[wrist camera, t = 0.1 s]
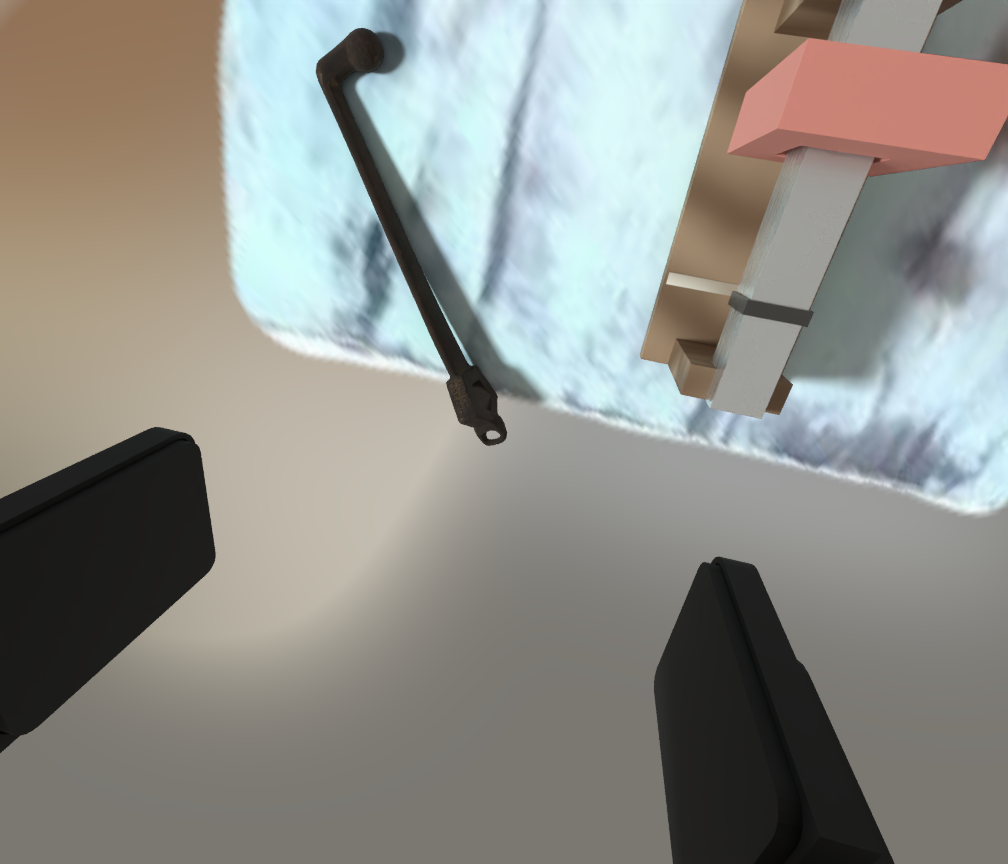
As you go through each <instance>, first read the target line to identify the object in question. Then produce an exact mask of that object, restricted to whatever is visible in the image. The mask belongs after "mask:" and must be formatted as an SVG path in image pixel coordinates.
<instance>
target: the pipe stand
mask: <svg viewBox="0 0 1008 864" xmlns="http://www.w3.org/2000/svg"><path fill="white" fill-rule="evenodd" d="M841 1H842V0H743V2H742V6H741V9H740V13H739V16H738V20H737V23H736V27H735V30H734V33H733V37H732V40H731V44H730V47H729V51H728V54H727V57H726V61H725V64H724V68H723V71H722V75H721V78H720V82H719V85H718V88H717V92H716V95H715V99H714V102H713V106H712V109H711V112H710V116H709V119H708V123H707V126H706V130H705V133H704V136H703V140H702V143H701V147H700V150H699V154H698V157H697V161H696V164H695V167H694V171H693V174H692V178H691V181H690V185H689V188H688V191H687V195H686V198H685V202H684V205H683V209H682V212H681V215H680V219H679V222H678V226H677V229H676V233H675V236H674V240H673V243H672V246H671V250H670V253H669V257H668V260H667V264H666V267H665V270H664V274H663V277H662V281H661V284H660V288H659V291H658V295H657V298H656V301H655V305H654V308H653V312H652V315H651V319H650V322H649V325H648V329H647V332H646V336H645V339H644V343H643V346H642V349H641V353H640V357H641V359H644V360H649V361H654V362H659V363H664V364H668V366H669V369H670V371H671V373H672V375H673V378H674V380H675V382H676V384H677V387H678V389H679V391H680V393H681V394H682V395H686V396H691V397H696V398H701V399H705V398H706V396H707V393H708V390H709V388H710V385H711V382H712V379H713V377H714V374H715V371H716V368H715V367H714V365H713V364H712V363H711V362H712V359H713V356H714V353H715V351H716V348H717V345H718V342H719V339H720V337H721V334H722V331H723V328H724V326H725V323H726V320H727V317H728V315H729V312H730V309H731V306H730V305H728V302H729V299H730V296H731V293H732V291H736V292H737V290H738V287H739V284H740V281H741V278H742V276H743V273H744V270H745V267H746V265H747V262H748V259H749V256H750V254H751V251H752V248H753V245H754V242H755V240H756V237H757V234H758V231H759V229H760V226H761V223H762V220H763V218H764V215H765V212H766V209H767V206H768V204H769V201H770V198H771V195H772V193H773V190H774V187H775V184H776V182H777V179H778V176H779V173H780V170H781V168H782V165H783V163H782V162H776V161H769V160H763V159H757V158H750V157H744V156H738V155H731V154H727V151H728V148H729V145H730V142H731V139H732V135H733V132H734V129H735V126H736V123H737V119H738V116H739V113H740V110H741V107H742V103H743V100H744V97H745V94H746V92H747V91H748V90H749V89H750V88H751V87H753V86H754V85H755V84H756V83H757V82H758V81H760V80H761V79H762V78H763V77H764V76H765V75H767V74H768V73H769V72H770V71H771V70H772V69H774V68H775V67H776V66H777V65H778V64H779V63H781V62H782V61H783V60H784V59H785V58H786V57H787V56H789V55H790V54H791V53H792V52H793V51H794V50H796V49H797V48H798V47H799V46H800V45H801V44H803V43H804V42H805V41H806V40H807V39H808V38H812V39H819V40H828V37H829V35H830V32H831V29H832V26H833V24H834V21H835V18H836V15H837V12H838V10H839V7H840V4H841ZM961 1H962V0H942V3H941V5H940V7H939V10H938V12H937V14H936V16H935V19H934V21H933V23H932V26H933V24H934V22H935V20H936V17H937V15H939V14H940V13H942V12H944V11H945V10H947V9H949V8H950V7H952V6H954V5H955V4H957V3H959V2H961ZM932 26H931V28H930V30H929V33H930V31H931V29H932ZM929 33H928V35H927V37H926V40H927V38H928V36H929ZM926 40H925V42H924V44H923V47H924V45H925V43H926ZM923 47H922V49H921V51H920V53H921V52H922V50H923ZM867 177H868V176H866V178H865V181H866V179H867ZM865 181H864V183H865ZM864 183H863V185H862V188H863V186H864ZM862 188H861V190H862ZM861 190H860V192H859V195H860V193H861ZM859 195H858V197H859ZM858 197H857V199H856V202H857V200H858ZM856 202H855V204H856ZM855 204H854V206H853V209H854V207H855ZM853 209H852V211H853ZM852 211H851V213H850V216H851V214H852ZM850 216H849V218H850ZM849 218H848V220H849ZM848 220H847V222H846V225H847V223H848ZM846 225H845V227H846ZM845 227H844V229H843V232H844V230H845ZM843 232H842V234H843ZM842 234H841V236H840V239H841V237H842ZM840 239H839V241H840ZM839 241H838V243H837V246H838V244H839ZM837 246H836V248H837ZM836 248H835V250H836ZM835 250H834V253H835ZM834 253H833V255H834ZM833 255H832V257H833ZM832 257H831V260H832ZM831 260H830V262H831ZM830 262H829V264H830ZM829 264H828V266H827V269H828V267H829ZM827 269H826V271H827ZM826 271H825V273H824V276H825V274H826ZM824 276H823V278H824ZM823 278H822V280H821V283H822V281H823ZM821 283H820V285H821ZM820 285H819V287H820ZM819 287H818V290H819ZM818 290H817V292H818ZM817 292H816V294H817ZM816 294H815V297H816ZM815 297H814V299H815ZM814 299H813V301H814ZM813 301H812V303H811V306H812V304H813ZM811 306H810V308H811ZM810 308H809V310H810ZM802 327H803V326H802ZM802 327H801V329H802ZM801 329H800V331H801ZM800 331H799V334H800ZM799 334H798V336H799ZM798 336H797V338H798ZM797 338H796V341H797ZM796 341H795V343H796ZM795 343H794V345H795ZM794 345H793V347H794ZM793 347H792V350H793ZM792 350H791V352H792ZM791 352H790V354H791ZM790 354H789V357H790ZM789 357H788V359H789ZM788 359H787V361H788ZM787 361H786V364H787ZM786 364H785V366H786ZM785 366H784V368H785ZM784 368H783V371H784ZM783 371H782V373H783ZM782 373H781V375H780V378H779V380H778V382H777V385H776V387H775V389H774V391H773V394H772V396H771V398H770V401H769V403H768V405H767V408H766V410H765V412H768V413H772V414H777V415H780V412H781V410H782V408H783V406H784V403H785V401H786V399H787V397H788V395H789V392H790V390H791V388H792V386H793V384H792V383H790V382H789V381H788V380H787V379H786V378H785V377H784V376H783V375H782Z"/></svg>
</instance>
